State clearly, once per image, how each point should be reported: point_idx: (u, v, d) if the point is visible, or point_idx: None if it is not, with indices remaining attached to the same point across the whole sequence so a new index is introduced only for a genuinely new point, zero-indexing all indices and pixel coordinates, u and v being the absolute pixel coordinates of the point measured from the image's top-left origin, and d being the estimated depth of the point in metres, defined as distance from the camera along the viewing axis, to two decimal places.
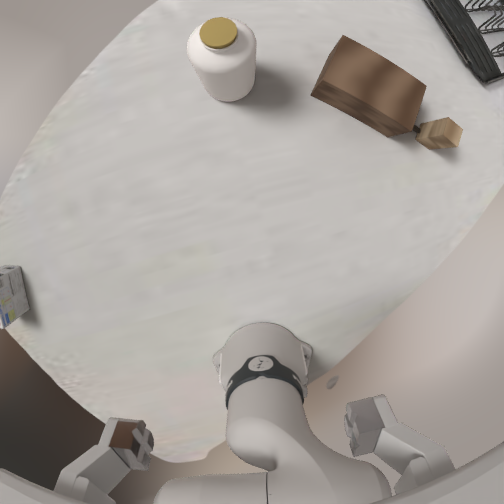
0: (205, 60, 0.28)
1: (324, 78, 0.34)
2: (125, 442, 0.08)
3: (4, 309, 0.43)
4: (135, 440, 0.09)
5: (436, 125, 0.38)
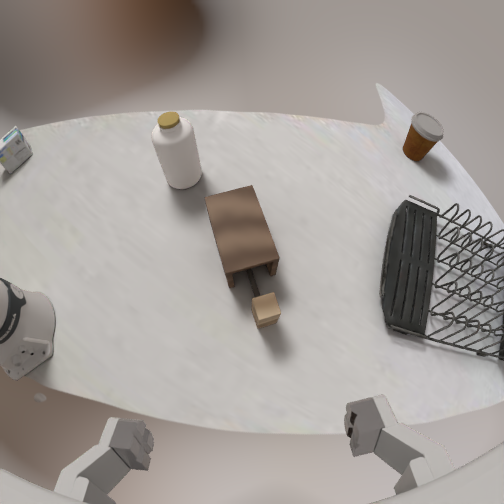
0: (154, 131, 0.50)
1: (206, 197, 0.53)
2: (125, 442, 0.08)
3: (4, 152, 0.61)
4: (135, 440, 0.09)
5: None
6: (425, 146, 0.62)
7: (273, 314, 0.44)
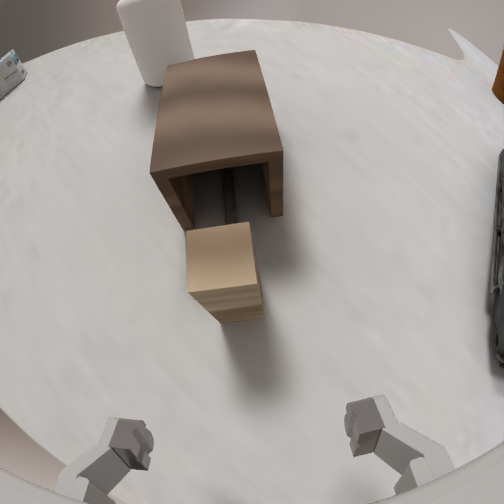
0: None
1: (170, 65, 0.25)
2: (125, 442, 0.08)
3: None
4: (135, 440, 0.09)
5: None
6: None
7: (233, 283, 0.15)
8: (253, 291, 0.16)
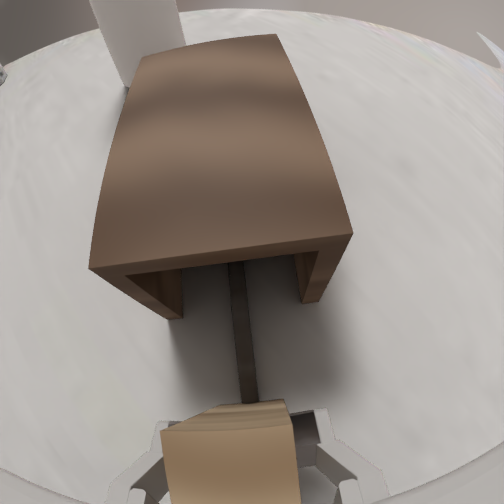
0: None
1: (145, 56, 0.15)
2: None
3: None
4: None
5: (252, 415, 0.09)
6: None
7: None
8: None
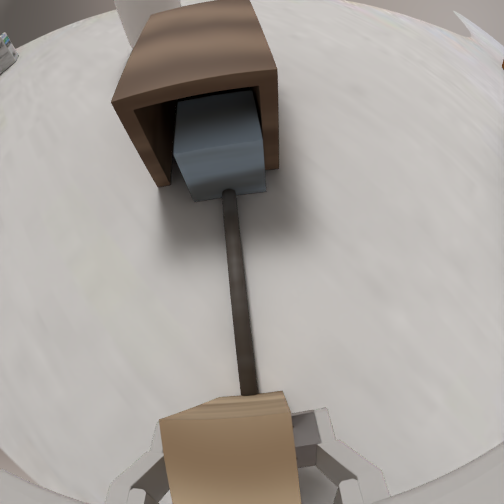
0: None
1: (154, 14, 0.19)
2: None
3: None
4: None
5: (251, 405, 0.09)
6: None
7: None
8: None
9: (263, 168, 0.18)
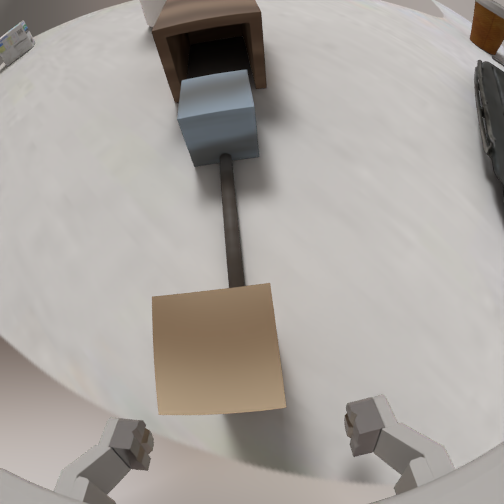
0: None
1: None
2: (125, 442, 0.08)
3: (4, 41, 0.42)
4: (135, 440, 0.09)
5: None
6: (497, 27, 0.25)
7: (241, 406, 0.07)
8: None
9: (255, 133, 0.19)
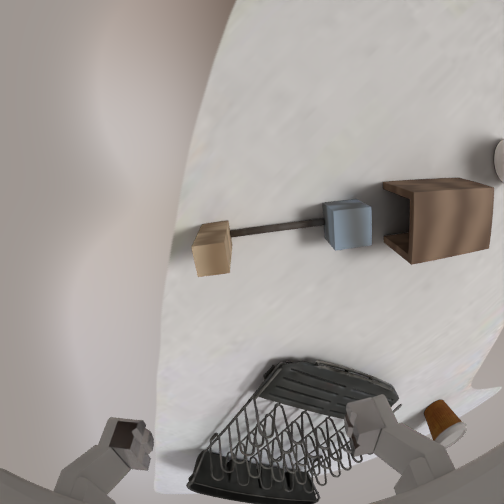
0: None
1: (493, 190, 0.29)
2: (125, 442, 0.08)
3: None
4: (135, 440, 0.09)
5: (228, 252, 0.34)
6: (435, 427, 0.50)
7: (197, 267, 0.31)
8: None
9: (329, 243, 0.38)
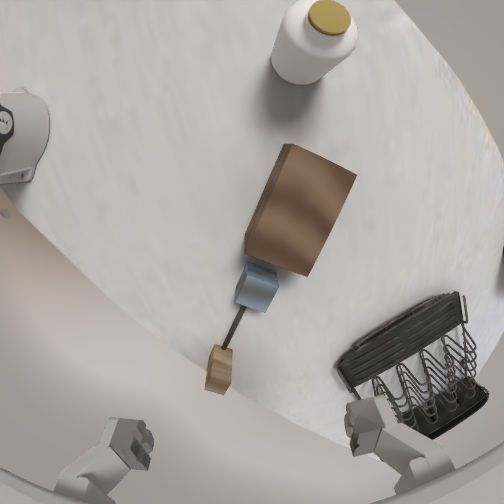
0: (297, 9, 0.22)
1: (295, 146, 0.33)
2: (125, 442, 0.08)
3: None
4: (135, 440, 0.09)
5: (224, 368, 0.48)
6: None
7: (217, 392, 0.46)
8: None
9: None
